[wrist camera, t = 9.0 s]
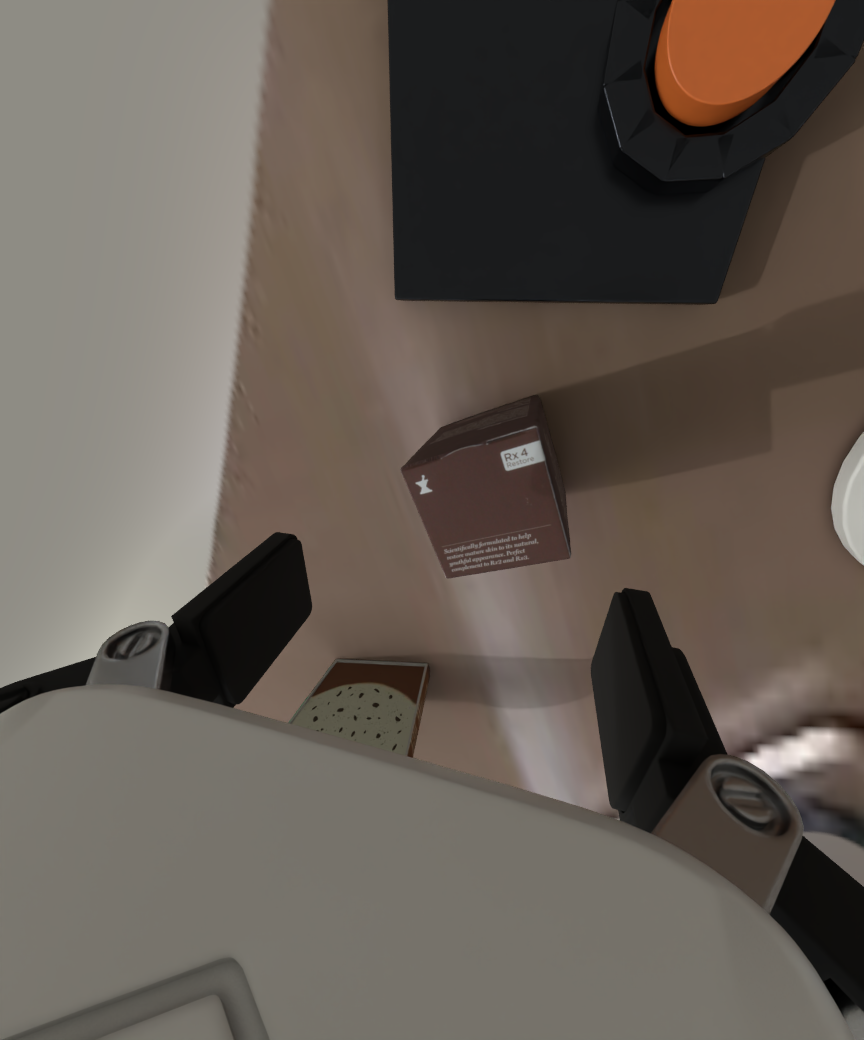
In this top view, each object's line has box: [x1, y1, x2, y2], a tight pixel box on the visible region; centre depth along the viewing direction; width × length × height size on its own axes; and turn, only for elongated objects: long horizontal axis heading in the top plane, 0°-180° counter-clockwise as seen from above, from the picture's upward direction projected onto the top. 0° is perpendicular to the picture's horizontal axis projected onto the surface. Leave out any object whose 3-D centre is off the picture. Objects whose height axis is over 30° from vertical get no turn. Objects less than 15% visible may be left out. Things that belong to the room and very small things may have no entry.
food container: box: [288, 659, 430, 759], centre depth 31 cm, size 12×6×10 cm, turn 104°
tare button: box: [654, 0, 835, 127], centre depth 11 cm, size 4×4×2 cm
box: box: [401, 395, 571, 578], centre depth 19 cm, size 6×6×7 cm
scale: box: [388, 0, 864, 305], centre depth 13 cm, size 15×14×3 cm
